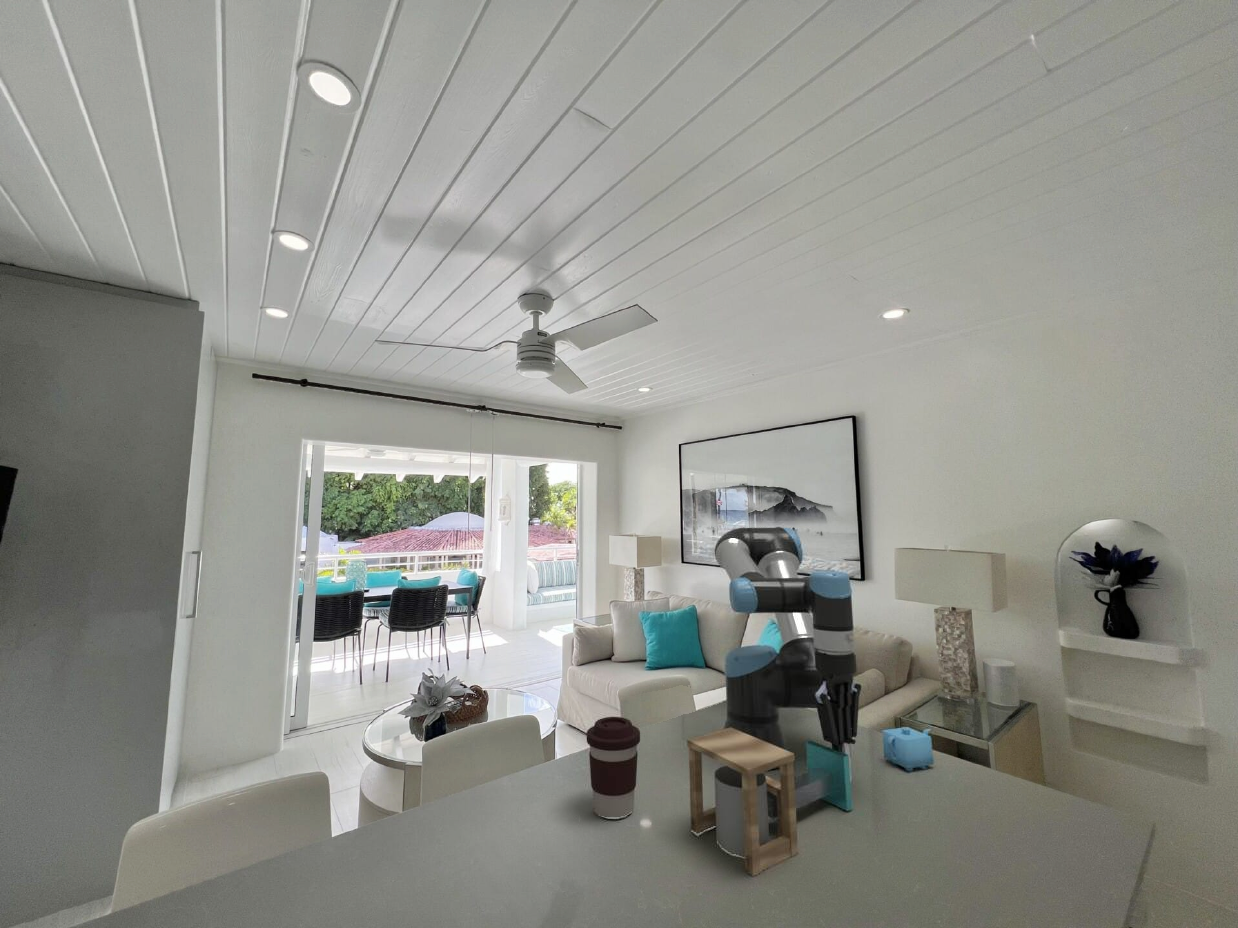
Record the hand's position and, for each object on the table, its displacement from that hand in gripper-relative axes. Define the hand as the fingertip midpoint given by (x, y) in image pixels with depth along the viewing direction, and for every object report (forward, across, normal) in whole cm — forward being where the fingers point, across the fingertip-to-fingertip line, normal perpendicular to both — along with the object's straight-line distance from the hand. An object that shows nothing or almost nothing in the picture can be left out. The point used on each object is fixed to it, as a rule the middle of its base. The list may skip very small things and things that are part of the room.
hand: (843, 778), depth 97 cm
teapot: (+3, +25, 0) cm, 25 cm away
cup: (+3, -27, 0) cm, 28 cm away
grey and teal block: (+3, -13, 0) cm, 13 cm away
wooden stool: (+3, -26, 0) cm, 26 cm away
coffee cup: (+3, -39, +20) cm, 44 cm away
